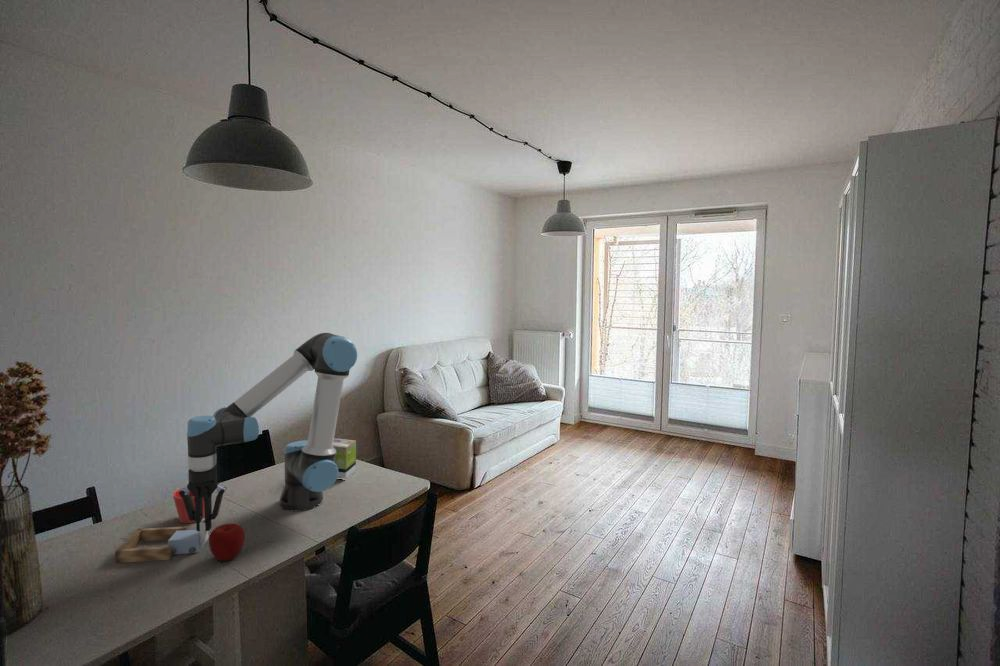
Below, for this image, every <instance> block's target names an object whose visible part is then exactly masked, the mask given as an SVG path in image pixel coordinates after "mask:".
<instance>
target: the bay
mask: <svg viewBox="0 0 1000 666" xmlns="http://www.w3.org/2000/svg"><path fill="white" fill-rule="evenodd" d="M181 530H189V526H171V527H168V526H167V527H152V528H151V527H150V528H138V529H137V530H136V531H135V532H134V533H132V535H131V536H130V537H129V538H128V539H126V540H125V541H124V542H123V543H122V544H121V545H120V546H119V547H118V548H117V549H116V550H115V552H114V554H115V564H120V563H135V562H149V561H151V562H154V561H169V560H171V559H172V555H171V546H169V547H168V546H155V547H152V546H151V547H137V546H138V545H139V544H140V543H142V542H145V541H146V542H149V541H150V542H151V541H152V542H153V541H168V540H169V539H170V538H171V537H172V536H173V534H174V533H175V532H176V531H181ZM136 547H137V548H136Z"/></svg>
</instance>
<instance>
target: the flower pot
mask: <svg viewBox="0 0 1000 666" xmlns="http://www.w3.org/2000/svg"><path fill="white" fill-rule="evenodd" d="M186 487H187V486H186ZM186 487H182V488H179V489H178V490H176V491H175V492H174V493H173V494H172V495H173V496H172V497H173V500H174V504H175V508H176V513H177V515H178V518H179V521H180V523H182V524H188V523H189V524H192V523H196V521H194V520H192V521H191V520H189V517H188V514H187V511H186V507H185V504H184V501H183V498H182V497H181V496H180V495H179V492H180V491H181V490H182V489H183V488H186ZM190 495H191V499H192V502H193V505H194V508H195V500H194V495H193V494H192V493H191V492H190ZM202 501H203V518H202V519H204V518H205V507H204V497H203V498H202Z"/></svg>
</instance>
